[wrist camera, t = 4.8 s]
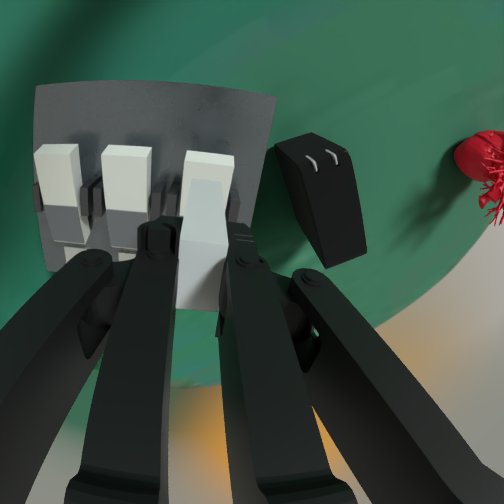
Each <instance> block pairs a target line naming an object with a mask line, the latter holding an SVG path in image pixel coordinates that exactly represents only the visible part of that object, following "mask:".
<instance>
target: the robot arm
mask: <svg viewBox="0 0 504 504" xmlns="http://www.w3.org/2000/svg"><path fill="white" fill-rule="evenodd" d="M218 305H219V315H218V321H217V327H216V334H215V337H218V341H219V357H220V372H221V385H222V398H223V410H224V422H225V433H226V444H227V453H228V463H229V472H230V481H231V490H232V498H233V504H358V503H357V500H356V497H355V495H354V493H353V491H352V489H351V488H350V486H349V485H348V484H347V483H346V482H344V481H342V480H340V479H337V478H336V477H335V476H334V475H333V474H332V472H331V469H330V466H329V463H328V460H327V456H326V453H325V449H324V446H323V443H322V439H321V435H320V432H319V429H318V425H317V422H316V419H315V415H314V412H313V408H314V410H315V412H316V413H317V415H318V417H319V418H320V420H321V421H322V423H323V425H324V426H325V428H326V430H327V432H328V433H329V435H330V436H331V438H332V440H333V441H334V443H335V445H336V446H337V448H338V450H339V451H340V453H341V455H342V456H343V458H344V459H345V461H346V463H347V464H348V466H349V467H350V469H351V471H352V472H353V474H354V476H355V477H356V479H357V480H358V482H359V484H360V485H361V487H362V488H363V490H364V491H365V493H366V495H367V496H368V498H369V499H370V501H371V503H372V504H504V478H502V477H501V476H499V475H498V474H497V473H495V472H494V471H492V470H491V469H489V468H488V467H486V466H485V465H484V464H482V463H481V461H480V460H479V459H478V457H477V456H476V455H475V454H474V452H473V451H472V449H471V448H470V447H469V445H468V444H467V443H466V441H465V440H464V439H463V437H462V436H461V435H460V433H459V432H458V431H457V430H456V428H455V427H454V426H453V424H452V423H451V422H450V421H449V419H448V418H447V417H446V415H445V414H444V413H443V412H442V410H441V409H440V408H439V407H438V405H437V404H436V403H435V402H434V400H433V399H432V398H431V397H430V395H429V394H428V393H427V392H426V391H425V389H424V388H423V387H422V386H421V384H420V383H419V382H418V381H417V379H416V378H415V377H414V376H413V375H412V373H411V372H410V371H409V370H408V369H407V367H406V366H405V365H404V364H403V363H402V361H401V360H400V359H399V358H398V357H397V355H396V354H395V353H394V352H393V351H392V350H391V348H390V347H389V346H388V345H387V344H386V343H385V341H384V340H383V339H382V338H381V337H380V336H379V334H378V333H377V332H376V331H375V330H374V329H373V328H372V326H371V325H370V324H369V323H368V322H367V321H366V319H365V318H364V317H363V316H362V315H361V314H360V313H359V312H358V310H357V309H356V308H355V307H354V306H353V305H352V304H351V303H350V301H349V300H348V299H347V298H346V297H345V296H344V295H343V294H342V292H341V291H340V290H339V289H338V288H337V287H336V286H335V285H334V284H333V282H332V281H331V280H330V279H329V278H328V277H326V276H325V275H324V274H322V273H320V272H319V271H317V270H313V269H306V268H301V269H297V270H296V271H294V272H293V274H292V278H289V277H286V276H282V275H279V274H276V273H273V272H271V271H270V268H269V265H268V263H267V261H266V260H265V259H263V258H262V257H261V256H259V255H258V251H257V248H256V244H255V242H254V237H253V234H252V230H251V229H250V228H249V227H248V226H247V225H246V224H245V223H237V222H228V221H226V219H225V211H224V202H223V193H222V184H221V182H220V181H212V180H204V179H195V178H192V180H191V184H190V189H189V194H188V198H187V203H186V208H185V213H184V217H174V216H164V215H161V216H160V217H158V218H157V219H156V220H155V221H148V222H145V223H143V224H140V226H139V227H138V228H137V254H136V256H135V258H133V259H130V260H125V261H116V262H113V261H112V256H111V255H110V253H109V252H107V251H104V250H101V249H87V250H84V251H81V252H79V253H78V254H76V255H75V256H74V257H73V258H71V259H70V260H69V261H68V262H67V263H66V264H65V265H64V266H63V267H62V268H61V269H60V270H58V271H57V272H56V273H55V274H54V275H53V276H52V277H51V278H50V279H49V280H48V281H47V282H46V283H45V284H44V285H43V286H42V287H41V288H40V289H39V290H38V291H37V292H36V293H35V294H34V295H33V296H32V297H31V298H30V299H29V300H28V301H27V302H26V303H25V304H24V305H23V306H22V307H21V308H20V309H19V310H18V312H17V313H16V314H15V315H14V316H13V317H12V318H11V319H10V320H9V321H8V322H7V324H6V325H5V326H4V327H3V328H2V329H1V330H0V504H25V502H26V500H27V497H28V495H29V492H30V490H31V488H32V486H33V483H34V481H35V479H36V477H37V475H38V472H39V470H40V468H41V466H42V464H43V462H44V459H45V458H46V455H47V453H48V451H49V449H50V447H51V445H52V443H53V441H54V439H55V437H56V435H57V434H58V432H59V430H60V428H61V426H62V424H63V422H64V420H65V418H66V416H67V415H68V413H69V411H70V409H71V407H72V405H73V404H74V402H75V399H76V398H77V396H78V394H79V393H80V391H81V389H82V387H83V386H84V384H85V382H86V381H87V379H88V377H89V375H90V374H91V372H92V370H93V369H94V367H95V365H96V364H97V362H98V360H99V359H100V357H101V355H102V354H103V352H104V354H103V358H102V362H101V366H100V370H99V374H98V378H97V382H96V386H95V390H94V394H93V399H92V404H91V408H90V413H89V418H88V423H87V429H86V434H85V440H84V446H83V452H82V459H81V465H80V469H79V472H78V474H77V475H75V476H74V477H73V478H72V479H70V481H69V483H68V486H67V488H66V493H65V498H64V504H169V498H168V426H169V425H168V424H169V398H170V379H171V364H172V350H173V338H174V326H175V312H176V308H178V309H189V310H200V311H213V312H217V311H218ZM314 328H315V329H316V330H317V332H318V333H319V336H318V337H317V336H316V334H315V333H314V332H313V330H314ZM104 350H105V351H104ZM312 406H313V408H312Z"/></svg>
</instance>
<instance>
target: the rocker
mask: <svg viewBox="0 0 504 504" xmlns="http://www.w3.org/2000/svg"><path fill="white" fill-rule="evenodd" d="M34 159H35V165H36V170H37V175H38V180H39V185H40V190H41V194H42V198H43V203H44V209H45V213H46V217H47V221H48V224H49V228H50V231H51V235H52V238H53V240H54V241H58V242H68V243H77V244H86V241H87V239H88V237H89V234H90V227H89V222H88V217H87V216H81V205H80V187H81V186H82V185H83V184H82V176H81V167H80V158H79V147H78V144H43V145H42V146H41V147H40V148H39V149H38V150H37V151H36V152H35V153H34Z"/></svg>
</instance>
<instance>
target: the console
mask: <svg viewBox="0 0 504 504" xmlns="http://www.w3.org/2000/svg"><path fill="white" fill-rule="evenodd" d="M277 98H278V97H275V96H270V95H265V94H260V93H255V92H249V91H243V90H237V89H230V88H224V87H216V86H208V85H199V84H190V83H178V82H164V81H142V80H100V81H78V82H65V83H54V84H45V85H37V86H36V92H35V104H34V122H33V165H34V183H35V184H34V185H32V188H33V199H34V209H35V212H37V215H38V223H39V230H40V236H41V243H42V248H43V254H44V259H45V264H46V269H47V271H52V272H57V271H58V270H60V269H61V268H62V267H63V266H64V265H65V264H66V263H67V262H68V261H69V260H70V259H71V258H73V257H74V256H75V255H76V254H78V253H79V252H81V251H84V250H87V249H101V250H104V251H107V252H109V253H110V255H111V256H112V261H113V262H116V261H125V260H130V259H133V258H135V256H136V254H137V250H136V249H127V248H117V247H111V244H110V238H109V231H108V224H107V217H106V205H105V196H104V186H103V175H102V161H101V154H102V153H103V151H104V150H105V149H106V147H107V146H108V145H125V146H142V147H152V155H151V221H155V220H156V219H157V218H158V217H160V216H161V215H164V216H174V217H179V216H180V203H181V191H182V180H183V170H184V160H185V156H186V152H187V150H189V151H198V152H207V153H215V154H223V155H230V156H234V171H233V175H232V180H231V185H230V190H229V195H228V200H227V204H226V209H225V219H226V221H228V222H237V223H245V224H246V225H247V226H248V227H249V228H250V226H251V222H252V217H253V212H254V207H255V202H256V197H257V193H258V188H259V183H260V178H261V173H262V169H263V164H264V159H265V154H266V149H267V145H268V140H269V135H270V131H271V126H272V121H273V116H274V112H275V107H276V102H277ZM43 144H78V147H79V158H80V167H81V176H82V184H83V185H82V186H81V187H80V205H81V216H87V217H88V222H89V227H90V234H89V237H88V239H87V241H86V244H77V243H68V242H58V241H54V240H53V238H52V235H51V231H50V228H49V224H48V221H47V217H46V213H45V209H44V203H43V198H42V194H41V190H40V185H39V180H38V175H37V170H36V165H35V159H34V153H35V152H36V151H37V150H38V149H39V148H40V147H41V146H42V145H43Z"/></svg>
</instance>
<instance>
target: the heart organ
mask: <svg viewBox="0 0 504 504" xmlns="http://www.w3.org/2000/svg"><path fill="white" fill-rule="evenodd" d="M454 159H455V162H456V164H457V166H458V167H459V169H460V170H461V171H462V172H463V173H464V174H465V175H467V176H468V177H470V178H471V179H473V180H475V181H479V182H484V183H485V182H487V181H493V182H491V183H492V184H493V185H492V187H490V186H488V185H487V184H486V183H485V185H484V184H483V185H484V186H487V187H486V188H480V189H483V190H484V189H488V188H489V189H490V190H489V191H488V192H487V193H485V194H484V195H482V196H479V205H480V207H481V209H483V208H484V206H485V205H486V203H488V202H489V201H490V200H491V201H493V202H494V203H496V202H497V201H498V200H499V199H500V202H499V204H498V206H497V207H496V208H495V207H494V208H492V209H493V210H492V209H489V210H492V211H489V213H488V214H487V215H486V216H488V215H489V214H490V213H491V212H493V211H495V210H496V214H495V217H494V219H495V218H496V219H497V216H498V213H499V211H500V210H501V208H503V210H504V132H501V131H495V130H494V131H492V130H487V131H482V132H479V133H476V134H474V135H473V136H472V137H470V138H468V139H466V140H465V141H463V142H462V144H460V145H459V146H458V147H457V148H456V150H455V152H454ZM484 217H485V216H484ZM494 219H493V220H492V221H491V222H490V223H489V224H491V223H492V222H493V221H494ZM503 219H504V211H503V216H502V218H501V220H500V224H501V223H502V221H503ZM495 224H496V220H495ZM500 224H499V225H500ZM494 226H495V225H494Z"/></svg>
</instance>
